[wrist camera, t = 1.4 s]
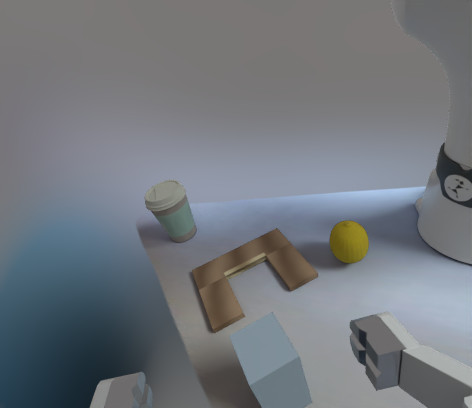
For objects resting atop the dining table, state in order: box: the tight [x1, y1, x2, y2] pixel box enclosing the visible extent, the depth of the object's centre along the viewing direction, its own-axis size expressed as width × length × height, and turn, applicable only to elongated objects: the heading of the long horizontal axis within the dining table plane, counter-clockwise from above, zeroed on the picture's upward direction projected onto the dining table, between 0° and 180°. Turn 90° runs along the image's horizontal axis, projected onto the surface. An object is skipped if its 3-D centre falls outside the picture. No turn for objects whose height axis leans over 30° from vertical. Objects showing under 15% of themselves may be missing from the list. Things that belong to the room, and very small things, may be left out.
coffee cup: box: [145, 180, 196, 242], centre depth 58 cm, size 9×9×12 cm
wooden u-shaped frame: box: [192, 229, 318, 333], centre depth 46 cm, size 18×13×1 cm
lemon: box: [330, 221, 369, 263], centre depth 42 cm, size 6×6×8 cm
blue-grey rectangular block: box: [230, 312, 312, 408], centre depth 29 cm, size 5×5×11 cm
